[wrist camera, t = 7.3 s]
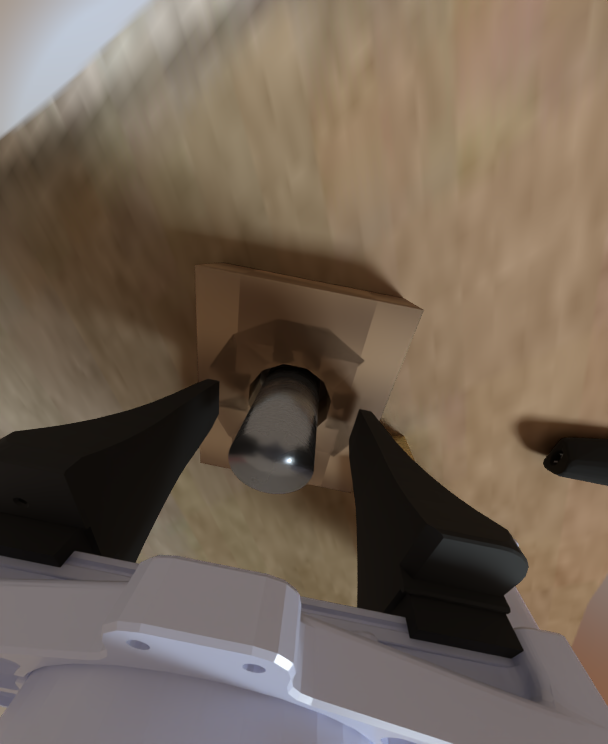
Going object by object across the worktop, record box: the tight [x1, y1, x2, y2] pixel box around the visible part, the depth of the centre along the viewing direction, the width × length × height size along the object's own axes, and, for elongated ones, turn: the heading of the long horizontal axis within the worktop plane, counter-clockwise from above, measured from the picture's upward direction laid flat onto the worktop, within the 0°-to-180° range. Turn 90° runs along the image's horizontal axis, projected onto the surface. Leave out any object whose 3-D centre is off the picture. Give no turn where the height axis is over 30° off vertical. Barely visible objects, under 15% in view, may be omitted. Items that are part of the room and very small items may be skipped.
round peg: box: [228, 364, 320, 494], centre depth 12 cm, size 3×3×7 cm
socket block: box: [195, 263, 424, 493], centre depth 14 cm, size 12×10×3 cm
